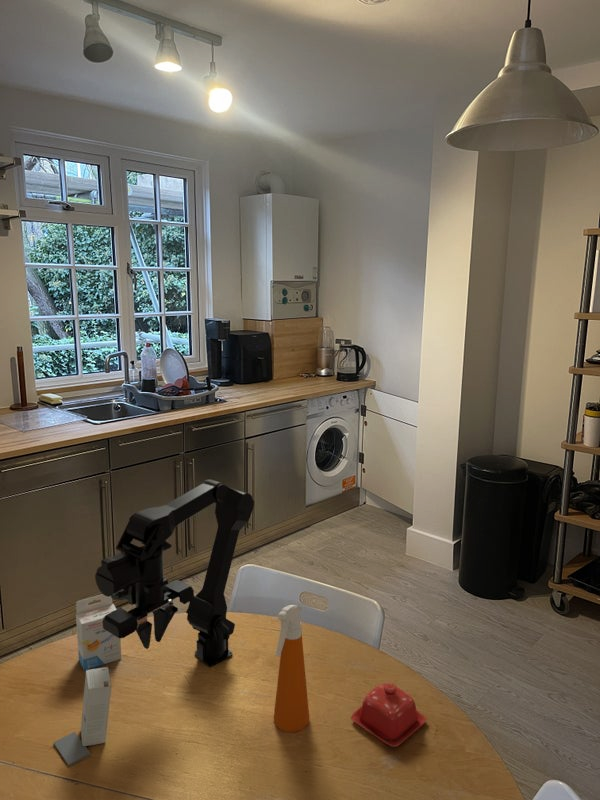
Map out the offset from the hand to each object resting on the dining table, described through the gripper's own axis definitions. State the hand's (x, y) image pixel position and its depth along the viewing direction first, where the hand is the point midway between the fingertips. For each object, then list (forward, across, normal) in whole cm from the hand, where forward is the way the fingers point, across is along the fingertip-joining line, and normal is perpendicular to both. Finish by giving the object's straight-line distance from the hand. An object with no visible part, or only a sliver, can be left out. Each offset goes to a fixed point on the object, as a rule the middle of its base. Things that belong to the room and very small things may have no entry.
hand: (152, 644), depth 122 cm
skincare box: (+12, +14, 0) cm, 19 cm away
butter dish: (+12, -24, +42) cm, 50 cm away
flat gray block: (+12, +19, 0) cm, 22 cm away
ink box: (+12, 0, -19) cm, 23 cm away
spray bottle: (+12, -11, +27) cm, 32 cm away
